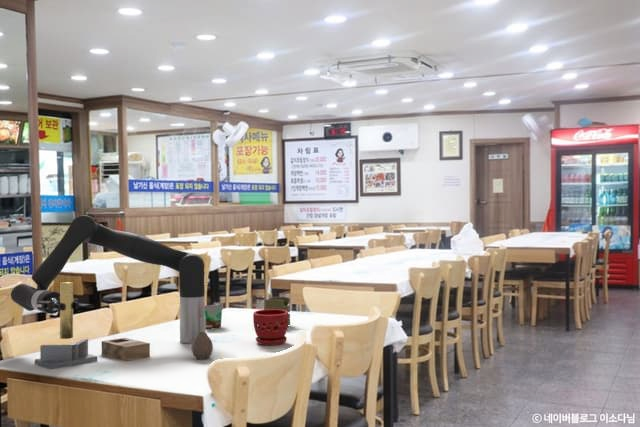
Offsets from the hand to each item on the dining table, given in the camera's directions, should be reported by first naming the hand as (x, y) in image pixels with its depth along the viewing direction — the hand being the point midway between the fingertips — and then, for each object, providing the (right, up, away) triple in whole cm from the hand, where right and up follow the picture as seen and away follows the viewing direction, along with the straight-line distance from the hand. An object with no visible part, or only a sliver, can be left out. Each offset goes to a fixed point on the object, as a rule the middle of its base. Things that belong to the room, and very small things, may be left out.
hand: (70, 306), depth 219 cm
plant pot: (+63, -19, +33) cm, 73 cm away
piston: (+62, -19, +72) cm, 97 cm away
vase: (+41, -19, +8) cm, 46 cm away
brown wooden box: (+14, -19, +13) cm, 27 cm away
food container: (+36, -19, +69) cm, 81 cm away
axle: (-2, -10, +2) cm, 11 cm away
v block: (-2, -19, +2) cm, 19 cm away
